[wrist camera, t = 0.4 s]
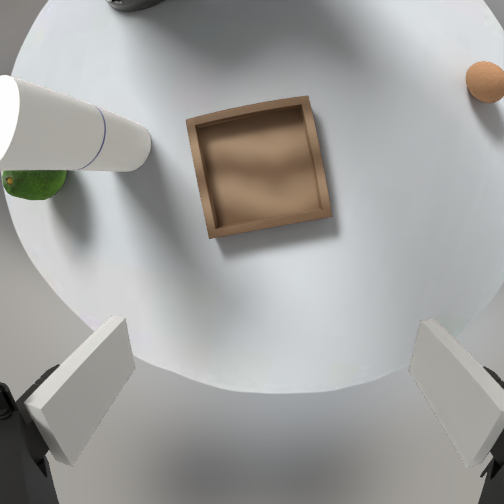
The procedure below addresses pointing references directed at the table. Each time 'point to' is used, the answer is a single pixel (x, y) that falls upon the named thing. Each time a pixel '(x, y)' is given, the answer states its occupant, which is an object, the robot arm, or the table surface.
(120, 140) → the cylindrical container
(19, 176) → the avocado
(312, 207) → the tray
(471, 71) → the egg
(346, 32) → the table surface
